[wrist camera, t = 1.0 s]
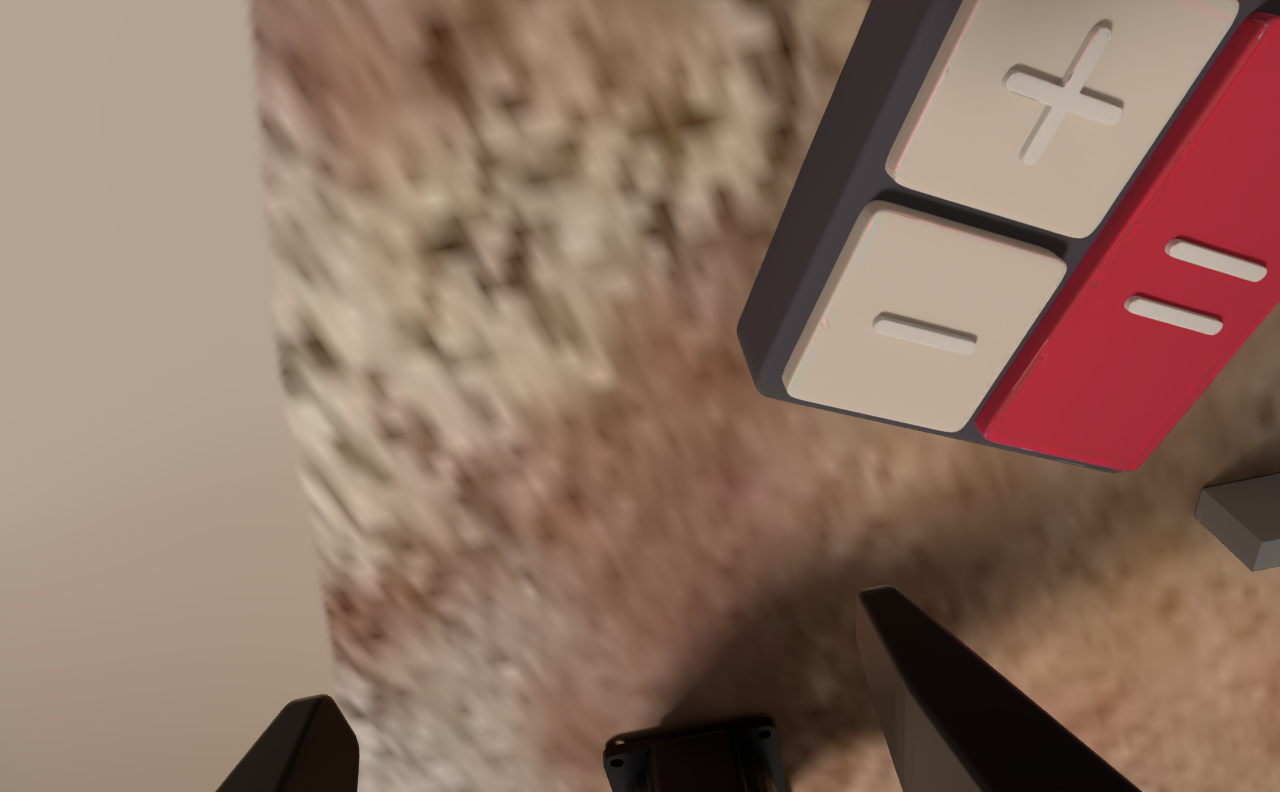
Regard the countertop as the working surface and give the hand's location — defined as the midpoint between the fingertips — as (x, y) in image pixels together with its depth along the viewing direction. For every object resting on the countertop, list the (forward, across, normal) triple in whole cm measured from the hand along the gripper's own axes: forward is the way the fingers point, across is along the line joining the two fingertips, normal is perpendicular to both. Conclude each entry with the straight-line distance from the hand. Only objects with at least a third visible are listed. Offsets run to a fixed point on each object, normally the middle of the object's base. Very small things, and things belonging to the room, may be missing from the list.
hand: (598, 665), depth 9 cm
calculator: (+13, -12, -1) cm, 17 cm away
